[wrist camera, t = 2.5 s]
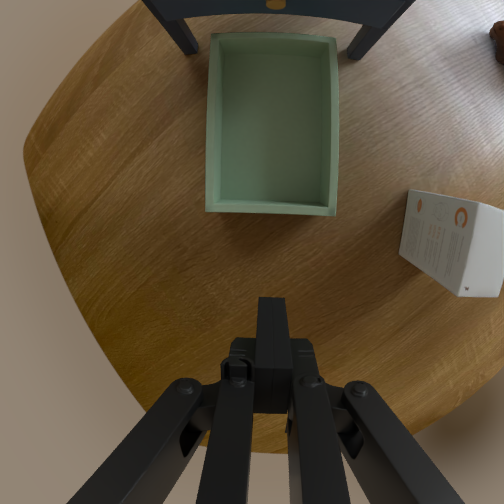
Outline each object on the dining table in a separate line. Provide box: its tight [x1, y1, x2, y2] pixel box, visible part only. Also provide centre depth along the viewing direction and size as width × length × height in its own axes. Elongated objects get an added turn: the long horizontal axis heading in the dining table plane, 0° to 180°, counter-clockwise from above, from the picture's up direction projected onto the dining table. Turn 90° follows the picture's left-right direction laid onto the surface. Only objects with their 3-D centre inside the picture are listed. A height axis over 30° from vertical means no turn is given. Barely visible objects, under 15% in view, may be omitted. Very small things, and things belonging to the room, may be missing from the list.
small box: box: [399, 190, 504, 297], centre depth 24 cm, size 8×6×13 cm
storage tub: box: [205, 32, 339, 216], centre depth 25 cm, size 18×12×5 cm, turn 179°
